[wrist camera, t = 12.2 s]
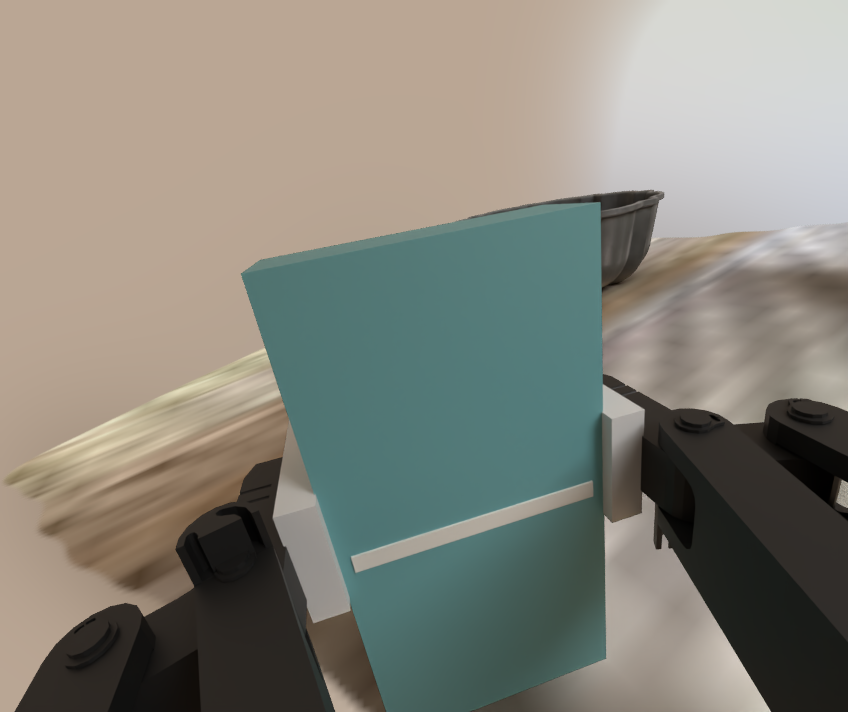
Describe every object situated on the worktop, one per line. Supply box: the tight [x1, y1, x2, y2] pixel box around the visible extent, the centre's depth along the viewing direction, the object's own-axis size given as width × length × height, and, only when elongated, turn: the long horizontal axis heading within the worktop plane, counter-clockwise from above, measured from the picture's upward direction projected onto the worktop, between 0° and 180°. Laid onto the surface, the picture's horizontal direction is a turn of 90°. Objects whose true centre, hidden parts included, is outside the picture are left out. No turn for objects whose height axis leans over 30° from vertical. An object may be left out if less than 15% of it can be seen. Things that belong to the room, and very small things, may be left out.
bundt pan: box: [456, 190, 664, 287], centre depth 55 cm, size 26×26×10 cm
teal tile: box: [241, 202, 606, 712], centre depth 10 cm, size 6×2×12 cm, turn 103°
